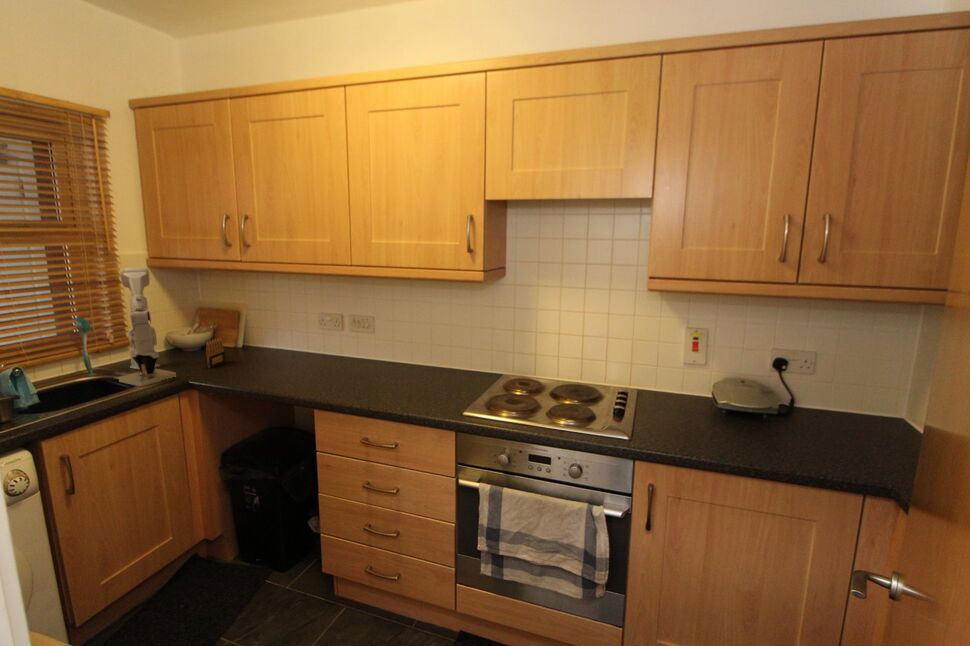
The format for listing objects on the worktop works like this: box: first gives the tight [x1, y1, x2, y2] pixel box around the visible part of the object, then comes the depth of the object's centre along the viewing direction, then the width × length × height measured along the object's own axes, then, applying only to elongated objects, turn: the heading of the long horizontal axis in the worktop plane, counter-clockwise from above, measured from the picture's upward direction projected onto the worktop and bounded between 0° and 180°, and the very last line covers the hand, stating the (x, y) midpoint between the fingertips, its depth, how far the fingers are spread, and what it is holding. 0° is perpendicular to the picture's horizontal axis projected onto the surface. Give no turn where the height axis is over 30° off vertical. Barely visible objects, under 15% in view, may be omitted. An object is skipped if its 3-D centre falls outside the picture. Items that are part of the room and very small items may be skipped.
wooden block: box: [141, 364, 156, 377], centre depth 202 cm, size 3×3×6 cm
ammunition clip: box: [205, 336, 227, 369], centre depth 223 cm, size 11×2×12 cm, turn 172°
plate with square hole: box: [118, 368, 177, 387], centre depth 202 cm, size 14×14×2 cm
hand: (147, 373), depth 202 cm, fingers closed on wooden block, 3 cm apart
